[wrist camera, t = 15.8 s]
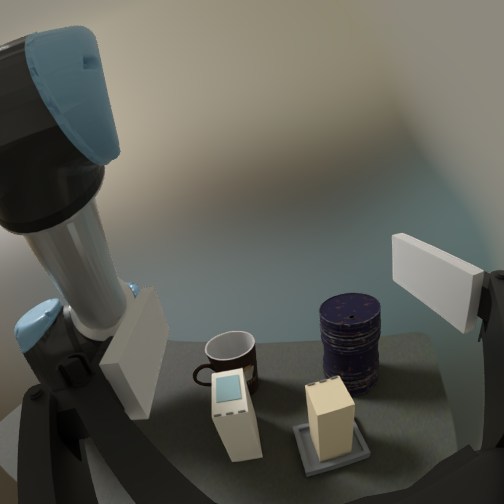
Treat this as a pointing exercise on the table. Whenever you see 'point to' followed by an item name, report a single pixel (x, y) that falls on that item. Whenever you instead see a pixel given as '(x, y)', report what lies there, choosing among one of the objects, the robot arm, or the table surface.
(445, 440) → the table surface
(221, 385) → the cream box with panel
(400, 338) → the table surface
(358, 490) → the table surface
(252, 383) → the coffee mug
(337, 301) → the storage jar
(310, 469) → the tray
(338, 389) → the cream rectangular block
